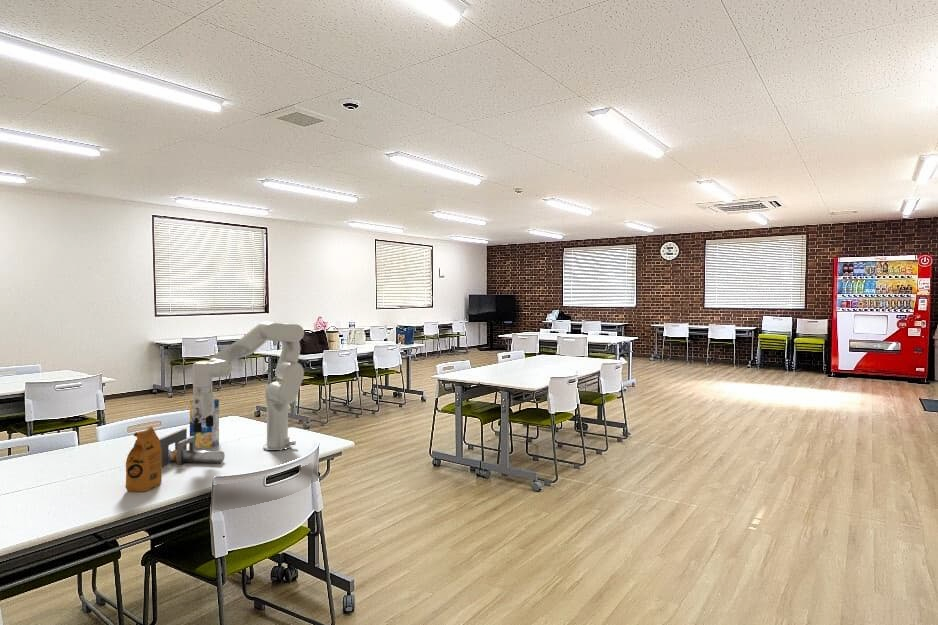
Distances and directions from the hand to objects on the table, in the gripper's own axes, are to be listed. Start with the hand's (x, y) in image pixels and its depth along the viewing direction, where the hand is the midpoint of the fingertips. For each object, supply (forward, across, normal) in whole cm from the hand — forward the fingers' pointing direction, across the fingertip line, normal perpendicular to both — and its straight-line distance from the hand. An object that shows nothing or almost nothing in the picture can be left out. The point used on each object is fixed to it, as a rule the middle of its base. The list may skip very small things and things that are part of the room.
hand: (203, 429), depth 244 cm
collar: (+14, -1, +8) cm, 16 cm away
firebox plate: (+14, -1, +14) cm, 20 cm away
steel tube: (+14, -1, +4) cm, 15 cm away
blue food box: (+15, +25, +14) cm, 33 cm away
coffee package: (+14, -33, +6) cm, 36 cm away
